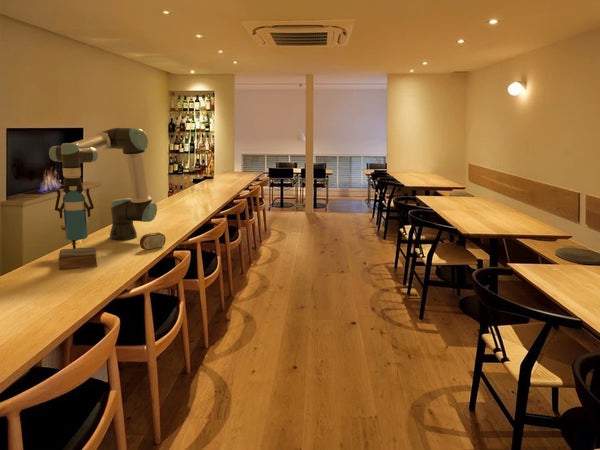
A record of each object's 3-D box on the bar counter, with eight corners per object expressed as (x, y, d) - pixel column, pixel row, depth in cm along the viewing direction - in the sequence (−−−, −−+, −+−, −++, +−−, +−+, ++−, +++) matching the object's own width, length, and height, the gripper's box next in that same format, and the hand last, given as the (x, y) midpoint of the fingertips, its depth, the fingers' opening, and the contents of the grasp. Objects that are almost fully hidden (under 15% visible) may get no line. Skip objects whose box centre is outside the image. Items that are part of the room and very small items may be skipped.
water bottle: (87, 239, 229) (83, 186, 224) (65, 240, 226) (61, 187, 220) (87, 235, 238) (83, 184, 233) (66, 236, 234) (62, 184, 229)
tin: (163, 245, 272) (162, 231, 271) (166, 246, 270) (166, 231, 269) (139, 250, 261) (138, 235, 259) (143, 251, 259) (142, 236, 257)
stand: (60, 261, 238) (59, 249, 237) (96, 258, 244) (95, 246, 243) (59, 270, 224) (58, 257, 223) (96, 266, 230) (96, 254, 229)
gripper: (45, 178, 218) (49, 227, 223) (98, 177, 227) (101, 224, 231) (46, 176, 225) (50, 224, 229) (97, 175, 233) (100, 221, 238)
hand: (75, 224), depth 230 cm, fingers closed on water bottle, 9 cm apart
